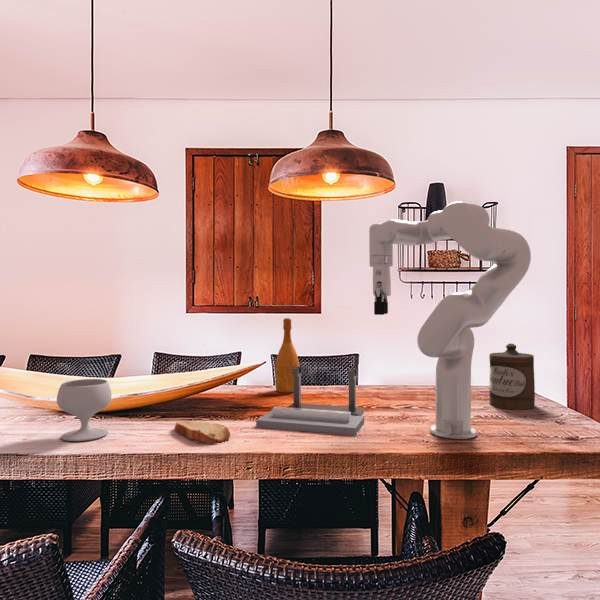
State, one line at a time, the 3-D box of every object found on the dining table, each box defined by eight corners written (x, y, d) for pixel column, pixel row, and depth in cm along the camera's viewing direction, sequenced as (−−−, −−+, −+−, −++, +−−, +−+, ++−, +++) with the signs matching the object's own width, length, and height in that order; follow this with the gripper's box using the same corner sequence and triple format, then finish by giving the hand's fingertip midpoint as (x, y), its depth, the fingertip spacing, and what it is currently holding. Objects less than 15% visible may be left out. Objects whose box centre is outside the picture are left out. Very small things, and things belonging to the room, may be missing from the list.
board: (355, 435, 136) (355, 428, 136) (256, 426, 145) (256, 420, 145) (364, 422, 150) (364, 416, 150) (272, 415, 159) (272, 409, 159)
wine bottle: (303, 390, 202) (303, 318, 202) (291, 394, 194) (291, 319, 194) (283, 388, 207) (283, 317, 207) (270, 392, 199) (270, 318, 199)
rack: (358, 419, 154) (358, 372, 154) (284, 413, 162) (283, 369, 162) (364, 412, 164) (364, 368, 164) (293, 407, 171) (293, 365, 171)
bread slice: (177, 427, 146) (177, 415, 146) (236, 428, 146) (236, 415, 146) (157, 445, 128) (157, 431, 128) (225, 446, 128) (225, 432, 128)
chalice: (52, 434, 137) (51, 381, 137) (103, 426, 146) (103, 376, 146) (63, 447, 126) (62, 389, 126) (118, 437, 135) (118, 383, 135)
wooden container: (481, 404, 175) (481, 343, 175) (501, 399, 185) (501, 341, 184) (523, 412, 164) (523, 346, 163) (541, 405, 173) (541, 343, 173)
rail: (349, 422, 143) (349, 413, 143) (272, 416, 150) (272, 408, 150) (351, 420, 145) (351, 411, 145) (275, 414, 152) (275, 406, 152)
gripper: (389, 259, 150) (390, 315, 150) (395, 263, 167) (395, 313, 167) (365, 260, 152) (365, 315, 152) (373, 263, 169) (373, 313, 169)
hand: (381, 314), depth 159 cm, fingers open, 9 cm apart
